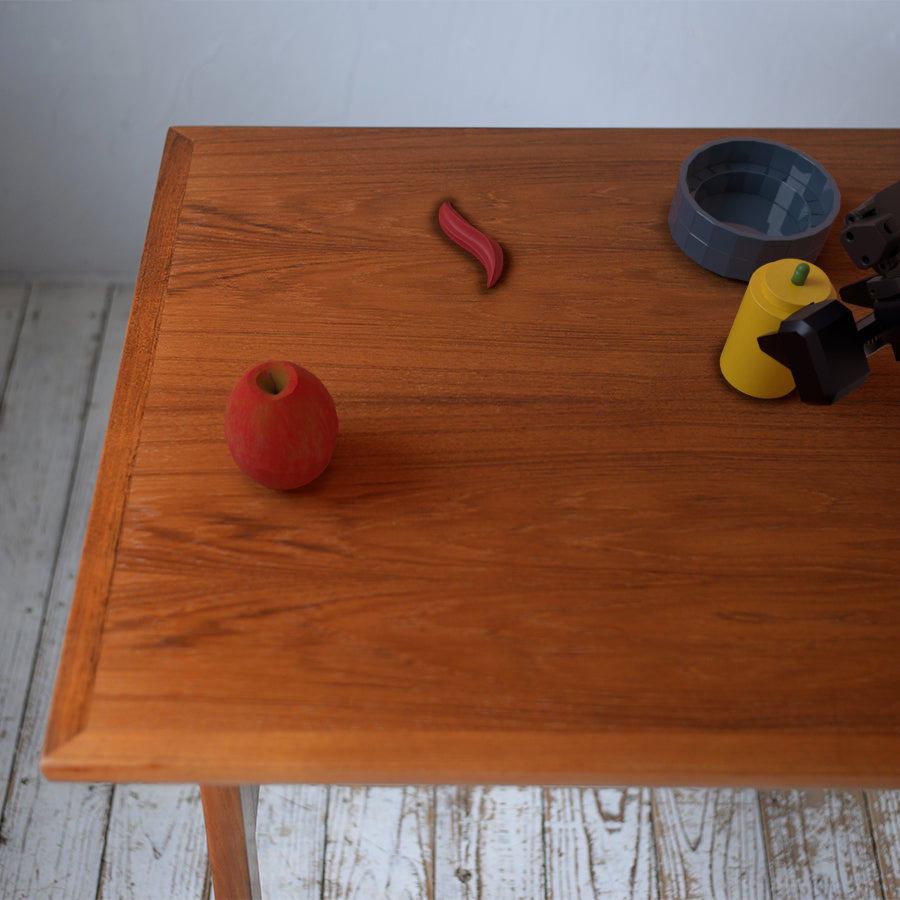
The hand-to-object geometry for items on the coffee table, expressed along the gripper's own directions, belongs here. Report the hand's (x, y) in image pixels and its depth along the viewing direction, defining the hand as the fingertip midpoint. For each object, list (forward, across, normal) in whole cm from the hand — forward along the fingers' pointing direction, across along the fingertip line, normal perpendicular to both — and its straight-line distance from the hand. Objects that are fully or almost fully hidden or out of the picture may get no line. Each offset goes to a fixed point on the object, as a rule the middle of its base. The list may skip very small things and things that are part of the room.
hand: (801, 318), depth 74 cm
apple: (+16, +37, -6) cm, 41 cm away
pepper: (+6, 0, +4) cm, 7 cm away
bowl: (+15, -11, -5) cm, 19 cm away
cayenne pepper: (+24, +11, -14) cm, 30 cm away
